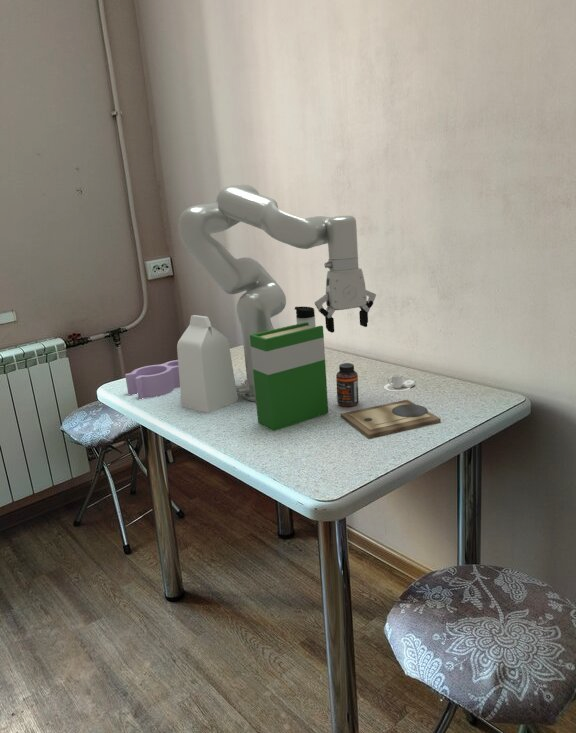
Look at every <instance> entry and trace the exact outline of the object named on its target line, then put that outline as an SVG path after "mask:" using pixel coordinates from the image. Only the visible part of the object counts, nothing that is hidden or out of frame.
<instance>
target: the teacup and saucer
mask: <svg viewBox="0 0 576 733" xmlns="http://www.w3.org/2000/svg"><path fill="white" fill-rule="evenodd" d="M389 379H391V382H390V380H389ZM403 379H404V378H403V374H401V373H394V374H391V376H389V377H387V382H388V383H386V384H385V385H384V386H383V389H384V390H386V391H389V392H395V393H396V392H398V393H399V392H405V391H409V390H410V389H412V387H414V386H415V385H416V381H414V380H412V379H408V380H405V381H404V382H403ZM389 386H391V387H393V388H394V389H399V390H394V389H389ZM402 386H403V387H404V389H401V388H402ZM400 389H401V390H400Z"/></svg>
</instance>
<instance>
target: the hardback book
mask: <svg viewBox="0 0 576 733" xmlns="http://www.w3.org/2000/svg"><path fill="white" fill-rule="evenodd" d="M324 334H325V333H324V325H317V326H316V327H311V326H309V324H308V322H305V323H300V324H297V323H296V324H293V325H288V326H282V327H278V328H275V329H274V330H269V331H265V332H260V333H256V334H252V335H250V344H251V354H252V364H253V375H254V385H255V395H256V401H255V405H256V415H257V424H259V425H261V426H262V427H265V428H267V429H268V430H270V431H272V432H274V431H278V430H281V429H284V428H287V427H289V426H293V425H296V424H299V423H302V422H306V421H308V420H311V419H314V418H318V417H320V416H323V415H326V414H329V401H328V388H327V386H328V384H327V370H326V353H325V338H324V337H325V336H324Z"/></svg>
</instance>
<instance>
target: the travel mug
mask: <svg viewBox="0 0 576 733" xmlns="http://www.w3.org/2000/svg"><path fill="white" fill-rule="evenodd" d="M294 310H295V311H296V313H295V314H296V316H295V317H296V318H295V319H296V324H300V323H305V322H308V324H309V326H311V327H317V326H316V314H315V313H316V312H315V308H314V307H311V306H294Z"/></svg>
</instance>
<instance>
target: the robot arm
mask: <svg viewBox="0 0 576 733" xmlns="http://www.w3.org/2000/svg"><path fill="white" fill-rule="evenodd" d="M239 223H244V224H246V225H250V226H251V227H255V228H257V229H260V230H262V231H264V232H265V234H267V235H268V236H270V237H271V238H273V239H274V240H276V241H278V242H281V243H284V244H286V245H289V246H290V247H291V246H292V247H294V248H298V249H300V250H301V249H302V250H307V249H312V248H315V247H319V246H323V245H327V246H328V248H327V249H328V260H327V262H324V268H325V269H328V271H327V274H326V280H325V294H324V295H322V296H321V297H320V298H319V299H317V300H316V301H314V306H315V308H316V309H317V310H318V312H319V313H320V314H322V316H323V317H324V318H325V319H324V320H325V329H326V330H327V332H329V333H335V320H334V317H333V315H334V313H335V311H343V310H349V309H350V310H351V309H356V308H359V309H360V310H359V312H358V314H359V325H360V326H361V327H365V328H366V327H368V323H369V312H370V309H371V308H372V306H373V305H374V301H375V299H376V297H377V294H376V293H375V292H371V291H369V290H367V288H366V282H365V277H364V273H363V269H362V267H361V268H359V254H358V250H359V249H358V233H357V232H358V231H357V230H358V229H357V220H356V217H354V216H353V215H338V216H337V215H336V216H332V217H331V216H323V215H322V216H321V215H320V216H319V215H317V216H312V217H311V216H310V217H305V218H302V217H299V216H296V215H294V214H293V215H292V214H290V213H287V212H285V211H283V210H282V209H279V205H278V202H277V201H276V200H275V199H273V198H271V197H268V196H265V195H262V194H260V192H259V191H258V190H257V189H256V188H255V187H253V186H252V185H249V184H234V185H228V186H225V187H223V188H222V189H221V190H220V191H219V192H218V193H217V196H216V201H215V202H211V203H204V204H196V205H191V206H190V207H187V208H186V209H184V210H183V211H182V213H181V215H180V217H179V220H178V233H179V234H178V235H179V239H180V241H181V242H182V244H183V246H184V247H185V249H186V250H187V251H188V253H189V254H190V255H191V256H193V258H194V259H195V260H196V261H197V262H198V263H199V264H200V265H201V266H202V268H203V269H204V270H205V272H207V274H208V275H209V276H210V278H212V280H214V282H215V283H216V284H217V286H219V287H220V289H221V290H222V291H223V292H224V293H226V294H228V295H235V294H236V295H237V294H240V293H242V292H244V293H243V294H242V295H241V296H240V297H239V299H238V300H237V303H236V313H237V314H236V315H237V318H238V322H239V325H240V330H241V337H242V344H243V354H244V364H245V373H246V374H245V375H246V379H245V380H243V381H244V383H242V384H241V385H236V391H237V394H239V395H241V394H242V395H243V398H244V399H245V400H248V401H251V402H256V395H255V385H254V375H253V364H252V354H251V344H250V335H252V334H256V333H260V332H265V331H269V330H274V325H273V323H272V321H271V318H273V317H275V316H277V315H279V314H281V313H282V312H283V311H284V309H285V308H286V305H287V298H286V297H287V296H286V294H285V291H284V290H283V289H282V287H281V286H280V284H278V282H277V281H276V280H275V279H274V278H273V277H272V276H271V274H270V273H269V272H268V271H267V270H266V269H265V267H263V265H262V264H261V263H260V262H258V261H257V260H255V259H253V258H251V257H245V256H244V257H240V258H236V257H235V256H233V254H231V253H230V252H229V250H228V249H227V247H225V246H224V244H222V243H221V242H220V241H218V240H217V239H215V238H214V237H213V236H212V235H211V234H218V233H221V232H224V231H226V230H229V229H230V228H232V227H234V226H236V225H237V224H239ZM367 297H368V298H367ZM324 303H326V304H325V305H326V306H327V307H326V308H324V307H323V304H324Z"/></svg>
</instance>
